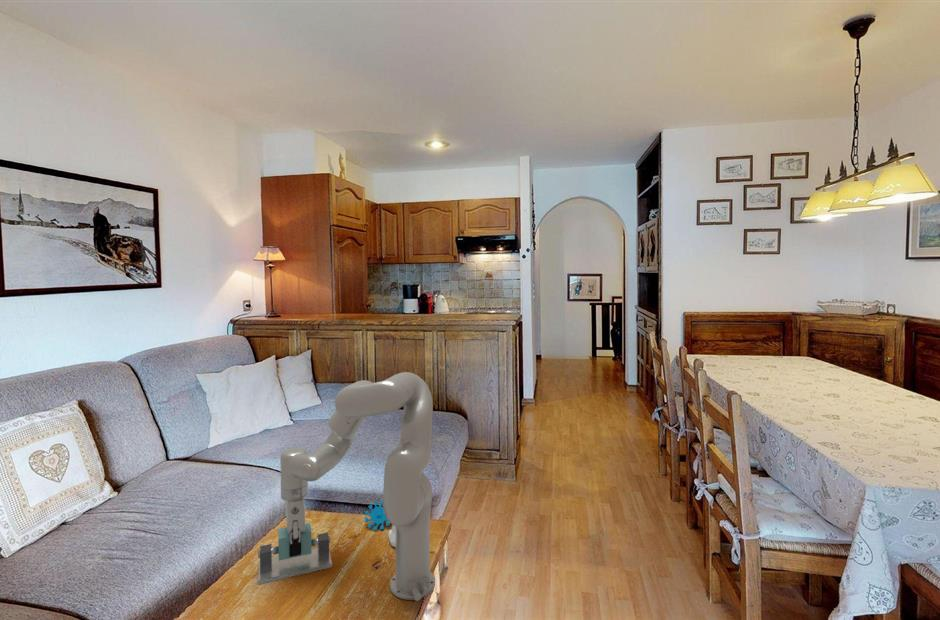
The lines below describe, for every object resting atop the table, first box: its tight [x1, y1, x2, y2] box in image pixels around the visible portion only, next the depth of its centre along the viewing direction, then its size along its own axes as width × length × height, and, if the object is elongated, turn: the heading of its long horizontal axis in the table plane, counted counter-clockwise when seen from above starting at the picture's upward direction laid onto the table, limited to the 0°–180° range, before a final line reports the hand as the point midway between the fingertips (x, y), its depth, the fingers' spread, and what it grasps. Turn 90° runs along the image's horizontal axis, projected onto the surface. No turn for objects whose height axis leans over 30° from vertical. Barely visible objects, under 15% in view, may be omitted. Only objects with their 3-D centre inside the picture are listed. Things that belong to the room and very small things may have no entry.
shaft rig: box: [257, 531, 333, 585], centre depth 133 cm, size 10×20×7 cm, turn 114°
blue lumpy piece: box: [364, 499, 391, 532], centre depth 158 cm, size 11×6×10 cm
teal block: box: [277, 522, 312, 561], centre depth 133 cm, size 6×9×6 cm, turn 113°
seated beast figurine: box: [387, 524, 396, 548], centre depth 146 cm, size 10×9×12 cm
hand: (294, 548), depth 133 cm, fingers closed on teal block, 5 cm apart
